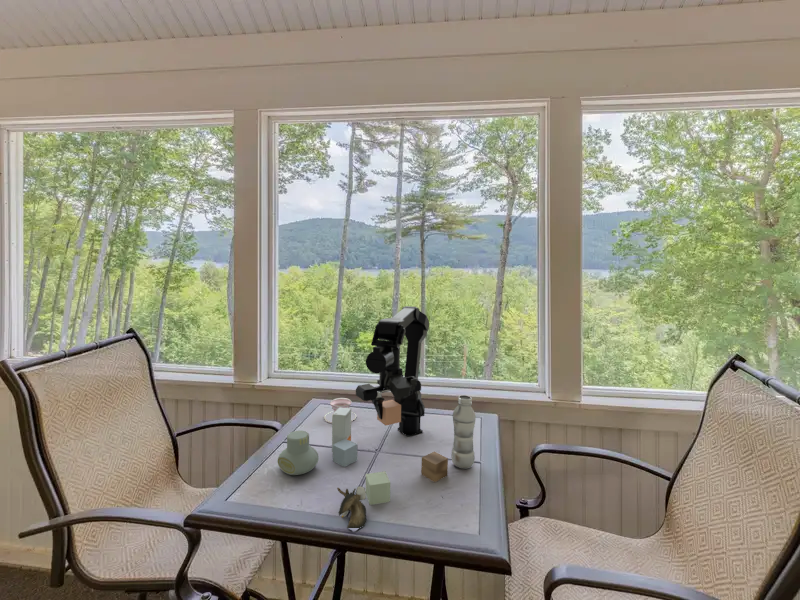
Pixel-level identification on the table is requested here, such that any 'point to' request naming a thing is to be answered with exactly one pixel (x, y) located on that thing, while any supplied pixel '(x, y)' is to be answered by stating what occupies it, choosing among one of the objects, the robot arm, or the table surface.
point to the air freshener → (298, 454)
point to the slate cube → (344, 452)
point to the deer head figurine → (354, 507)
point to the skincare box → (341, 425)
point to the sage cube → (377, 488)
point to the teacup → (339, 403)
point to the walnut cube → (434, 466)
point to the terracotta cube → (390, 413)
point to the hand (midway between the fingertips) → (388, 417)
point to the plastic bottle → (463, 433)
